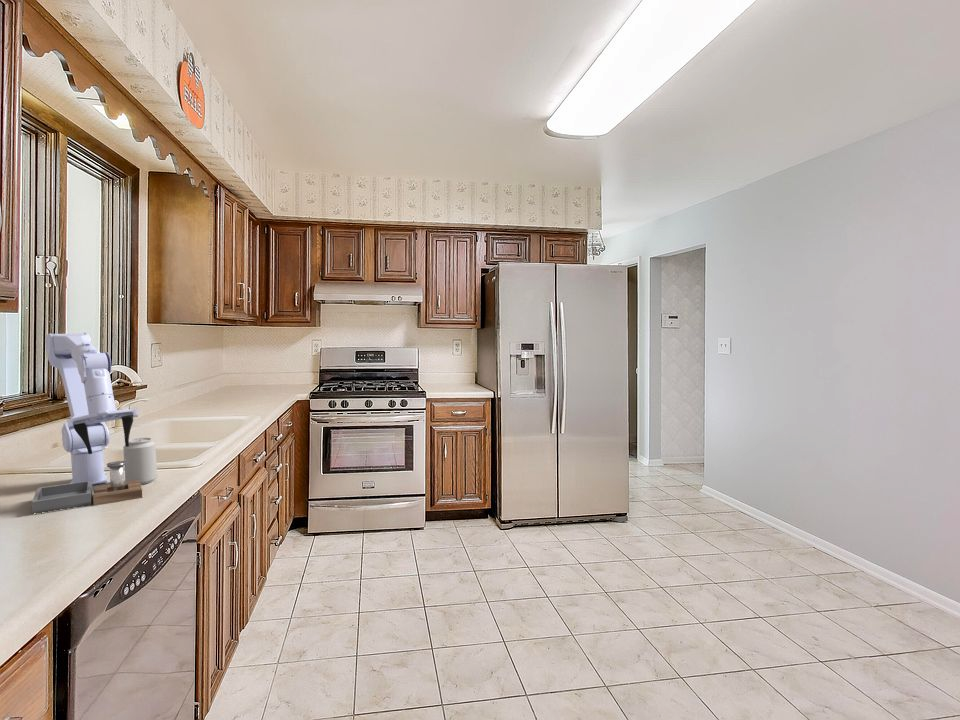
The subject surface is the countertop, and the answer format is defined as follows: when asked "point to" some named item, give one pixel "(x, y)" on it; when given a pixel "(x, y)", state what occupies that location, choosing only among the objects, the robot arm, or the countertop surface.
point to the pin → (117, 475)
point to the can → (140, 460)
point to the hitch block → (117, 493)
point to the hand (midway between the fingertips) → (109, 449)
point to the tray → (62, 497)
